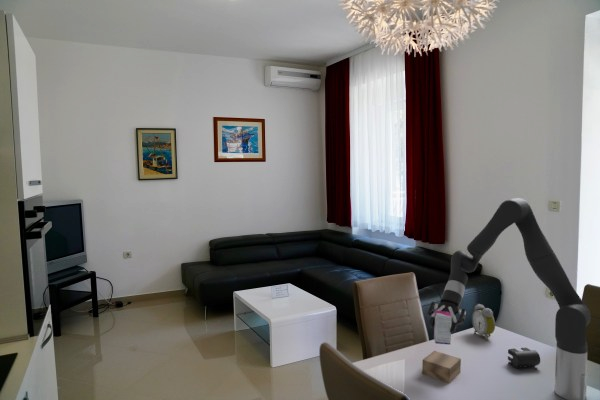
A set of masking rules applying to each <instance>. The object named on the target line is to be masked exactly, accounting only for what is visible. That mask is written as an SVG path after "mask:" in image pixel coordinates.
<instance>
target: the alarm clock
mask: <svg viewBox="0 0 600 400" xmlns="http://www.w3.org/2000/svg"><path fill="white" fill-rule="evenodd" d="M471 324H472V327H473V331H474V332H473V333H474V334H476V333H477V334H478V335H482V336H484V338H485V340H486V341H488V340H489V338H488V337H491V335H492V334H493V333H494V331H495V329H496V321H495V317H494V311H492V309H491V308H489V307H485V306H484V304H480V303H477V304H476V305H475V306H474V311H473V312H472V315H471Z"/></svg>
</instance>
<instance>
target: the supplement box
mask: <svg viewBox="0 0 600 400" xmlns="http://www.w3.org/2000/svg"><path fill="white" fill-rule="evenodd" d="M434 313H435V324H434V327H433V340H434V343H435V344H439V345H451V340H452V339H451V338H452V333H451V332H450V329H451V326H452V321H453V319H452V316H451V314H450V312H446V311H436V310H434Z"/></svg>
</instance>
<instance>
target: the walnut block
mask: <svg viewBox="0 0 600 400" xmlns="http://www.w3.org/2000/svg"><path fill="white" fill-rule="evenodd" d="M461 362H462V359H461V358H460V357H456V356H454V355H450V354H447V353H444V352H440V351H438V350H437V351H436V350H433V351H432V352H430V353H429V354H428V355H427V356H425V357H424V358H423V359H422V369H421V370H422V371H421V373H422V375H424V376H428V377H430V378H434V379H437V380H439V381H442V382H445V383H448V384H451V382H453V380H454V379H456V378H457V377H458V376H459V375H460V373H462V372H461V370H462V368H461V367H462V366H461V365H462V363H461Z"/></svg>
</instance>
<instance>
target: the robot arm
mask: <svg viewBox="0 0 600 400" xmlns="http://www.w3.org/2000/svg"><path fill="white" fill-rule="evenodd" d="M514 224H515V226H516V228H517V229H518V230H519V232H520V233H519V234H520V235H521V237H522V242H523V249H524V252H525V253H524V254H525V257H526V260H527V262H528V263H529V265H530V267H531V269H532V271H533V272H534V274H535V275H536V276H537V278H538V279H539V280H540V281H541V282H542V283H543V284H544V285H545V286H546V287H547V288H548V290H549V291H550V292H551V294H552V295H553V297H554V299H555V300H556V303H557V305H558V307H559V308H558V310H557V311H556V314H555V321H554V322H555V323H554V324H555V325H554V326H555V327H554V328H555V329H554V331H555V332H554V335H555V341H556V350H555V366H554V367H555V368H554V369H555V372H554V373H555V374H554V376H555V377H554V393H555V395H557V396H558V397H560V398H563V399H565V400H586V397H587V385H588V384H587V383H588V370H587V364H588V351H589V350H588V348H589V347H588V343H587V326H588V325H589V324H590V322H591V319H592V317H591V312H590V309H589V307H587V305H586V304H585V303H584V301H583V299H582V298H581V297H580V296H579V294H578V293H577V291H576V290H575V289H574V286H573V285H572V283H571V281H570V278H569V277H568V275H567V273H566V272H565V269H564V268H563V266H562V264H561V262H560V260H559V259H558V256H557V255H556V252H555V251H554V250H553V247H552V246H551V245H550V243H549V241H548V240H547V238H546V236H545V234H544V232H543V231H542V229H541V227H540V226H539V225H540V224H539V223H538V221H537V218H536V216H535V214H534V211H533V209H532V207H531V205H530V204H529V202H528V201H527V200H525V199H523V198H521V197H514V198H511V199H510V198H509V199H506V200H504V201H502V203H501V204H500V205H499V206H498V208H497V209H496V211H495V213H494V214H493V216H492V217H491V218H490V220H489V221H488V222H487V223H486V225H485V226H484V227H483V229H482V230H481V231H480V232H478V234H477V235H476V236H475V237H474V238H473V239H472V240H471V241H470V242H469V243H468V245H467V247H466V250H467V252H468V253H466V252H465V251H462V250H457V251H455V252H454V253H452V256H451V258H450V273H449V274H450V275H449V277H448V280H447V283H446V284H445V287H444V290H443V292H442V296H441V297H440V302H439V303H435V302H434V301H431V303H430V306H429V308H428V311H427V315H428V317H429V318H430V320H429V322H428V325H429V327H430V328H431V329H434V324H435V311H446V312H450V314H451V316H452V321H453V322H451V329H450V332H451V335H452V334H454V333H456V331H457V327H458V326H464V323H465V319H466V316H467V311H466V310H465V308H462V309H461V308H460V306H461V303H462V300H463V298H464V295H465V289H466V286H467V283H468V280H469V278H468V275H467V273H472V272H475V270H476V269H477V267H478V264H479V263H480V260H481V259H482V258H483V256H484V255H485V254H486V253H487V252H488V251H489V250H490V249H491V248H492V247H493V245H494V244H495V243H496V241H497V239H498V238H499V236H500V235H501V234H502V232H504V231H505V230H506V229H507V228H509V227H510V226H512V225H514ZM469 254H470V255H469ZM437 308H438V309H437ZM457 314H459V317H458V319H457V316H456V315H457Z"/></svg>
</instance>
